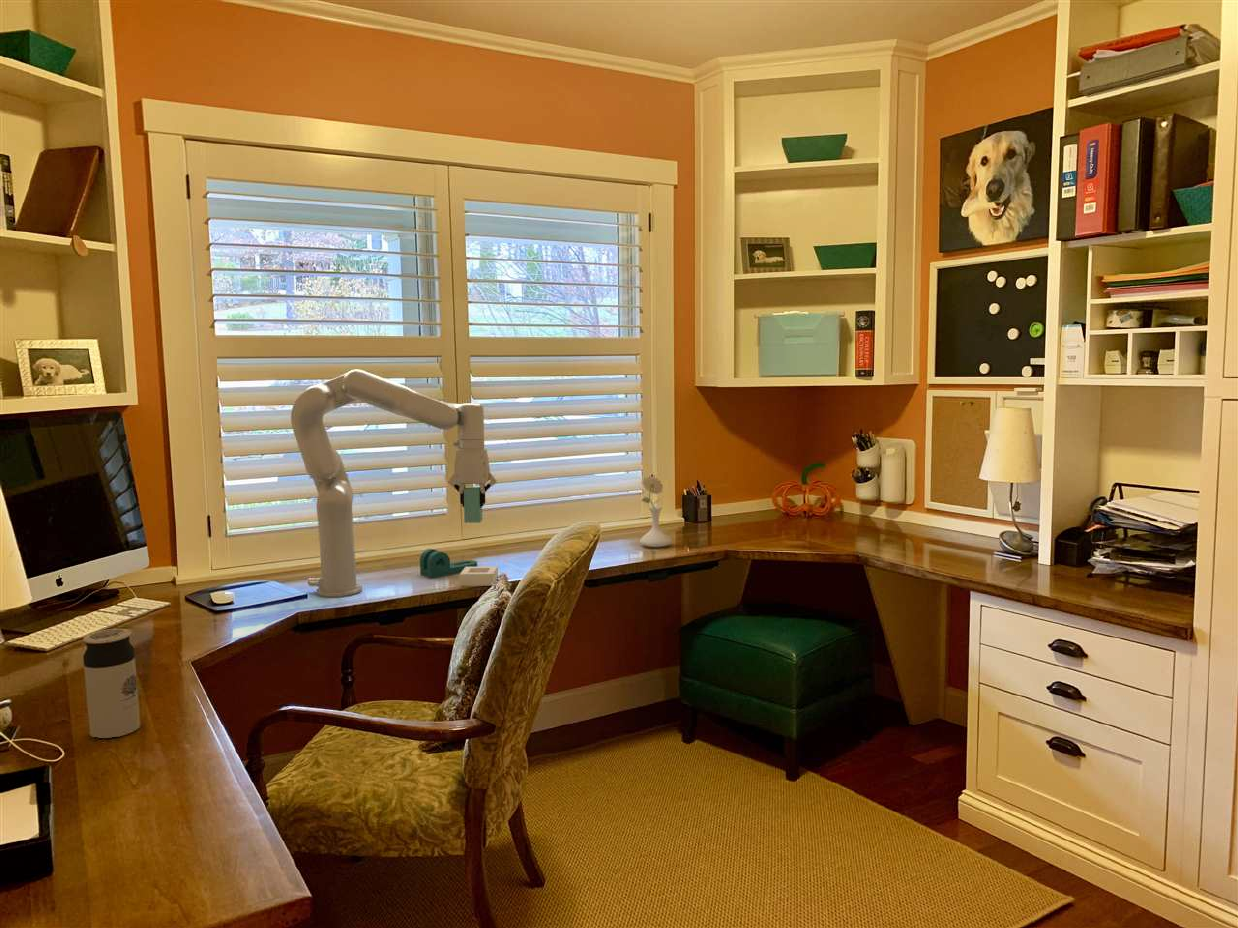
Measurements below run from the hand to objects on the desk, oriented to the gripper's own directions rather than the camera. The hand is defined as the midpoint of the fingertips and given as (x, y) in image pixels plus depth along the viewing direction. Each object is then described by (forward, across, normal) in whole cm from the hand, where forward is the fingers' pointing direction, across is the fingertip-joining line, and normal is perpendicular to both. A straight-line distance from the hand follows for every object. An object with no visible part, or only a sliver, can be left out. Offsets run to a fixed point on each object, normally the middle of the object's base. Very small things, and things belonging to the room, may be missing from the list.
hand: (473, 505), depth 268 cm
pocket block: (+23, +1, 0) cm, 23 cm away
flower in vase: (+23, +55, +49) cm, 78 cm away
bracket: (+24, -10, +14) cm, 29 cm away
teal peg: (+5, 0, 0) cm, 5 cm away
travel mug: (+24, -47, -108) cm, 121 cm away
